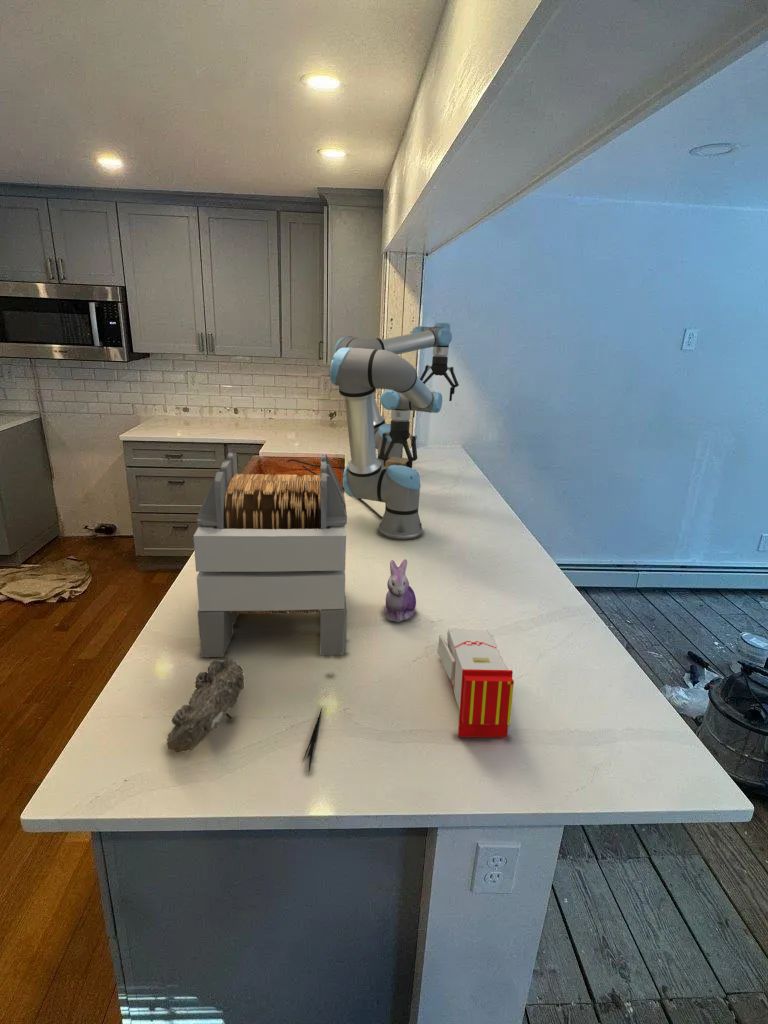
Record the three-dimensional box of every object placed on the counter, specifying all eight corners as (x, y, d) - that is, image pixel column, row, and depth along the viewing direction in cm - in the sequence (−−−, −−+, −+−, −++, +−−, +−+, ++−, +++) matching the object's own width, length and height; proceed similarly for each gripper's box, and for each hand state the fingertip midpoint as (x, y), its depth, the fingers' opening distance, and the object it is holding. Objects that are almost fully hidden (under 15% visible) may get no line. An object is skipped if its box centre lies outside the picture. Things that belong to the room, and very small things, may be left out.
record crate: (222, 587, 156) (213, 443, 143) (341, 586, 160) (343, 445, 146) (198, 659, 125) (184, 483, 111) (346, 655, 129) (350, 484, 115)
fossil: (192, 660, 117) (244, 628, 112) (224, 691, 120) (276, 661, 115) (142, 746, 98) (202, 712, 93) (182, 779, 101) (242, 748, 96)
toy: (488, 613, 130) (523, 677, 101) (484, 667, 133) (517, 744, 104) (435, 612, 130) (455, 676, 101) (432, 666, 133) (451, 743, 103)
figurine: (392, 627, 141) (395, 572, 136) (374, 608, 149) (376, 556, 144) (425, 619, 145) (429, 566, 140) (405, 601, 154) (408, 550, 149)
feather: (331, 679, 122) (336, 673, 122) (307, 777, 96) (313, 769, 95) (324, 675, 122) (329, 669, 121) (298, 772, 95) (304, 764, 95)
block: (384, 479, 230) (385, 461, 227) (390, 474, 238) (391, 456, 235) (403, 482, 227) (404, 463, 225) (409, 476, 235) (410, 458, 233)
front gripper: (372, 419, 224) (370, 474, 231) (423, 424, 218) (419, 480, 226) (378, 416, 231) (375, 470, 238) (428, 421, 225) (424, 476, 233)
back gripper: (413, 354, 277) (411, 398, 284) (464, 358, 271) (460, 402, 278) (417, 353, 284) (414, 396, 291) (466, 357, 278) (462, 400, 285)
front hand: (397, 475), depth 232 cm, fingers closed on block, 8 cm apart
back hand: (437, 399), depth 285 cm, fingers open, 13 cm apart
